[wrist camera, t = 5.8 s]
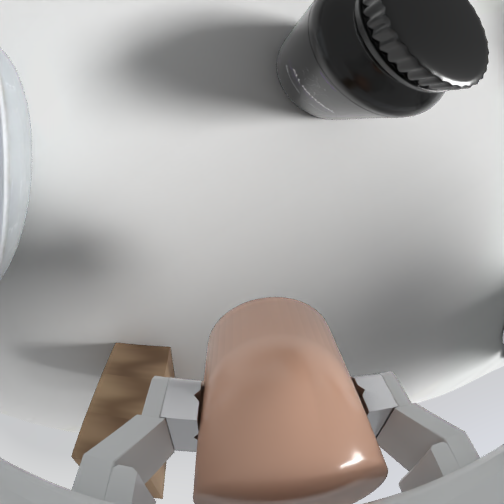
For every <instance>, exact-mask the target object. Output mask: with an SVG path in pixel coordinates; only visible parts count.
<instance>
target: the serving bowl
mask: <svg viewBox="0 0 504 504" xmlns="http://www.w3.org/2000/svg"><path fill="white" fill-rule="evenodd" d="M31 175H32V135H31V125H30V116H29V110H28V104H27V100H26V96H25V92H24V89H23V85H22V82H21V80H20V77H19V75H18V72H17V70H16V68H15V66H14V65H13V63H12V61H11V60H10V58H9V57H8V55H7V54H6V53H5V52H4V51H3V50H2V49H1V48H0V280H1V279H2V277H3V275H4V274H5V272H6V270H7V268H8V267H9V265H10V263H11V261H12V259H13V256H14V254H15V252H16V249H17V246H18V244H19V241H20V237H21V234H22V231H23V227H24V223H25V218H26V214H27V209H28V203H29V195H30V187H31Z"/></svg>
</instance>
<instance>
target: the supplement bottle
mask: <svg viewBox="0 0 504 504" xmlns="http://www.w3.org/2000/svg"><path fill="white" fill-rule="evenodd" d="M487 45H488V41H487V39H486V36H485V30H484V28H483V26H482V24H481V21H480V18H479V17H478V15H477V14H476V11H475V9H474V8H473V6H472V5H471V4H470V3H469V1H468V0H314V2H313V3H312V4H311V5H310V7H309V8H308V9H307V11H306V12H305V13H304V15H303V16H302V17H301V19H300V20H299V21H298V23H297V24H296V25H295V27H294V28H293V30H292V31H291V32H290V34H289V35H288V37H287V38H286V40H285V41H284V43H283V44H282V46H281V48H280V51H279V54H278V58H277V73H278V78H279V81H280V84H281V86H282V88H283V90H284V91H285V93H286V94H287V96H288V97H289V98H290V100H291V101H292V102H293V103H294V104H295V105H297V106H298V107H299V108H300V109H302V110H303V111H305V112H307V113H309V114H311V115H313V116H316V117H319V118H323V119H331V120H343V119H362V118H398V117H409V116H415V115H418V114H421V113H423V112H425V111H427V110H428V109H430V108H431V107H433V106H434V105H435V104H436V103H437V102H438V101H439V100H440V99H441V97H442V96H443V94H444V93H445V91H448V90H459V89H466V88H470V87H471V86H472V85H476V84H478V82H479V80H480V79H483V75H484V73H485V72H486V70H487V64H488V54H489V50H488V46H487Z"/></svg>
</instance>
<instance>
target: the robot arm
mask: <svg viewBox="0 0 504 504" xmlns="http://www.w3.org/2000/svg"><path fill="white" fill-rule="evenodd" d="M503 344H504V331H503ZM351 379H352V381H353V384H354V386H355V388H356V391H357V393H358V395H359V398H360V400H361V403H362V405H363V407H364V410H365V412H366V415H367V417H368V420H369V422H370V425H371V427H372V430H373V432H374V435H375V437H376V440H377V442H378V445H379V446H380V447H381V448H382V449H384V451H386V452H387V453H388V454H389V455H390V456H392V457H393V458H394V459H395V460H396V461H397V462H399V463H400V464H401V465H402V466H403V467H404V468H406V469H407V470H408V471H409V472H408V473H407V474H406V475H405V476H404V477H403V478H402V479H401V481H400V482H399V486H400V489H401V491H402V493H399V494H395V495H392V496H389V497H386V498H382V499H379V500H375V501H372V502H368V503H364V504H504V444H503V445H501V446H500V447H498V448H497V449H495V450H493V451H491V452H490V453H488V454H486V455H485V456H483V457H481V458H480V457H479V455H478V453H477V451H476V450H475V448H474V446H473V444H472V443H471V441H470V439H469V438H468V436H467V434H466V433H465V431H463V430H461V429H459V428H457V427H456V426H454V425H452V424H450V423H449V422H447V421H445V420H443V419H442V418H440V417H438V416H437V415H435V414H433V413H431V412H429V411H428V410H426V409H425V408H423V407H421V406H419V405H418V404H416V403H413V404H412V403H411V401H410V400H409V398H408V396H407V394H406V393H405V391H404V389H403V387H402V386H401V384H400V382H399V381H398V379H397V377H396V375H395V374H394V373H393V372H392V371H389V372H383V373H378V374H377V373H375V374H368V375H360V376H352V377H351ZM202 392H203V381H202V380H191V379H181V378H172V377H161V376H154V377H153V378H152V380H151V384H150V387H149V391H148V394H147V397H146V401H145V404H144V408H143V412H142V415H136V416H134V417H133V418H132V419H130V420H129V421H128V422H126V423H125V424H124V425H123V426H121V427H120V428H119V429H117V430H116V431H115V432H113V433H112V434H111V435H109V436H108V437H107V438H105V439H104V440H103V441H101V442H100V443H98V444H97V445H96V446H94V447H93V448H92V449H90V450H89V451H87V452H86V453H85V454H84V455H83V458H82V460H81V463H80V466H79V469H78V472H77V475H76V478H75V481H74V484H73V487H72V490H70V489H67V488H65V487H62V486H59V485H57V484H54V483H52V482H49V481H47V480H45V479H42V478H40V477H38V476H36V475H33V474H31V473H29V472H27V471H25V470H23V469H21V468H19V467H17V466H15V465H13V464H11V463H9V462H8V461H6V460H4V459H2V458H0V504H155V503H156V501H155V499H154V498H153V496H152V495H151V493H150V492H149V490H148V489H147V487H146V486H145V483H146V482H147V481H148V480H149V479H150V478H151V477H152V476H153V475H154V474H155V473H156V472H157V471H158V470H159V468H160V467H161V466H162V465H163V464H164V463H165V462H166V461H167V460H168V458H169V457H170V456H171V455H172V454H173V453H174V450H178V451H190V452H197V442H198V432H199V422H200V410H201V401H202Z"/></svg>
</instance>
